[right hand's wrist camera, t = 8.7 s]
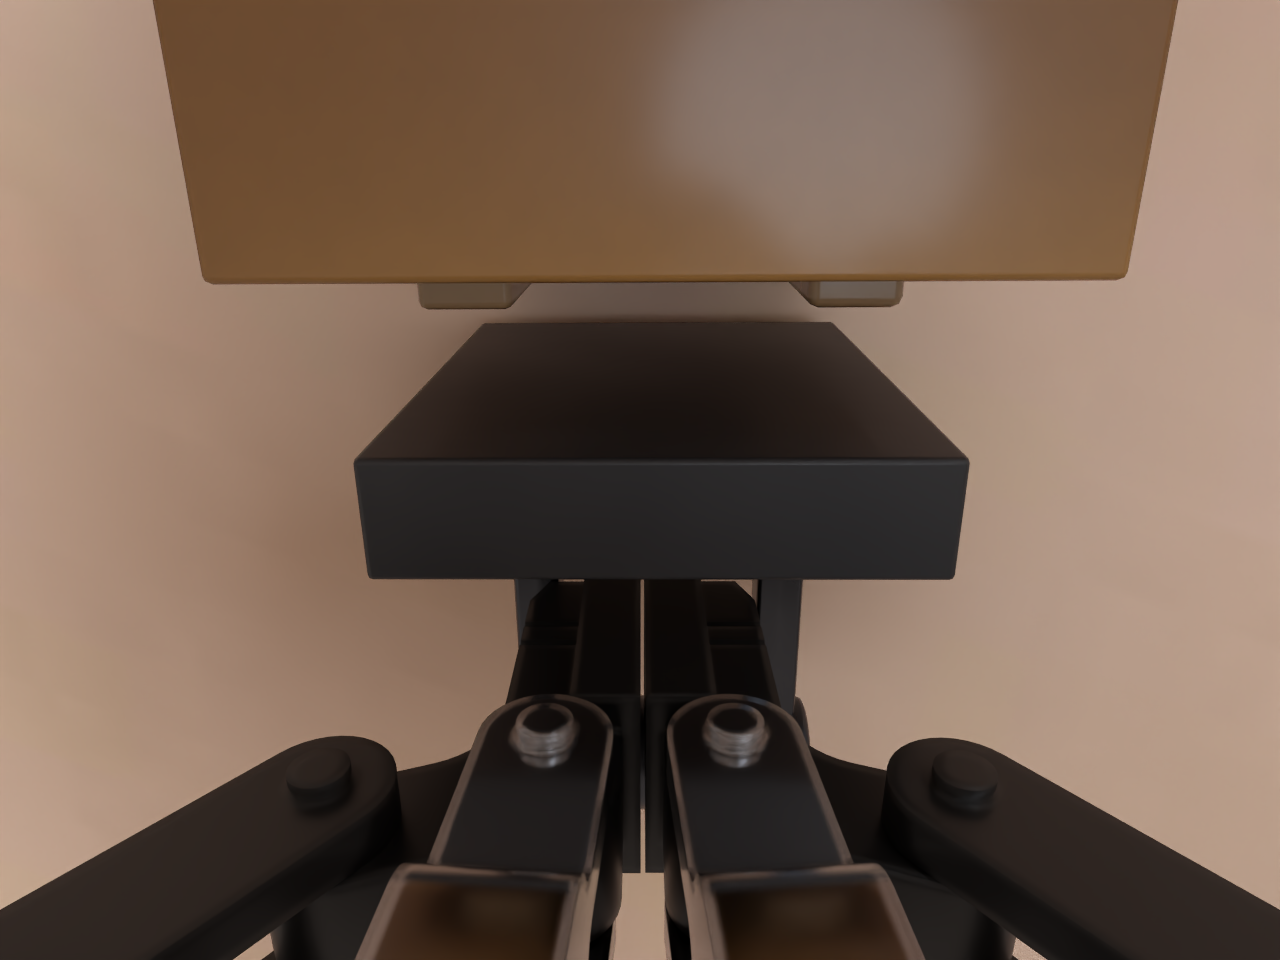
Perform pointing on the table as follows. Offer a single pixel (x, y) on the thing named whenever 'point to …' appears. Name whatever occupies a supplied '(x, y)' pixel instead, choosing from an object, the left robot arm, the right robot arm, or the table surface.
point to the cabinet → (663, 138)
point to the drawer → (663, 462)
